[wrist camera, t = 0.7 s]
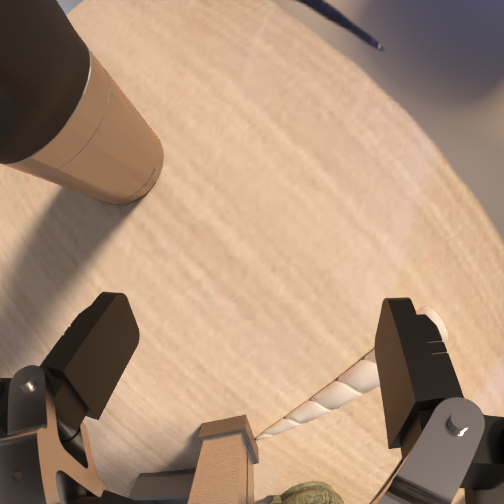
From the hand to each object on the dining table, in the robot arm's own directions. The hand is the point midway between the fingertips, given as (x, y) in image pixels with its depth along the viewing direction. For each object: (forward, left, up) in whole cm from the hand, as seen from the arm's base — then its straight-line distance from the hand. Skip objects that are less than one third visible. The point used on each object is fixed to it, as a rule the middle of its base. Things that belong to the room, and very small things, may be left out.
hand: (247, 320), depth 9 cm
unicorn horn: (+16, -1, -22) cm, 28 cm away
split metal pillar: (+11, -15, -22) cm, 28 cm away
